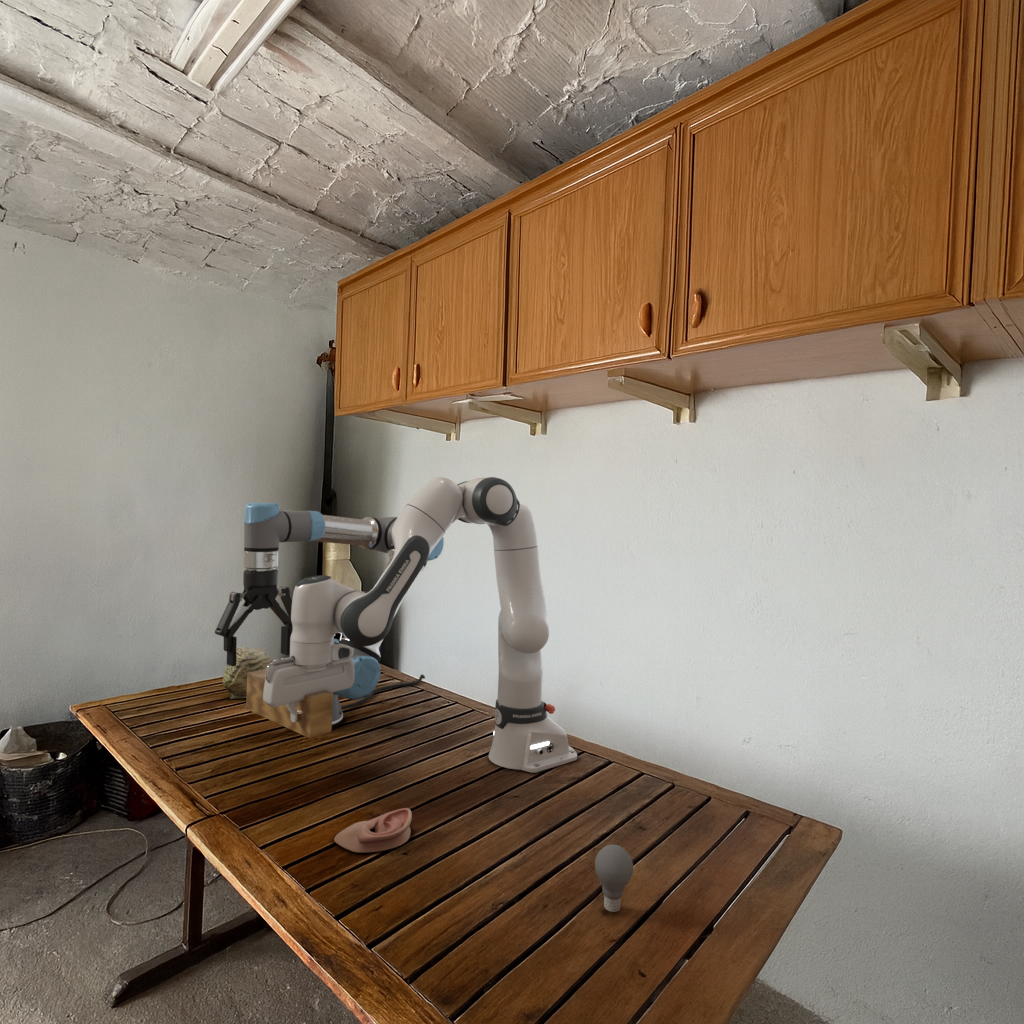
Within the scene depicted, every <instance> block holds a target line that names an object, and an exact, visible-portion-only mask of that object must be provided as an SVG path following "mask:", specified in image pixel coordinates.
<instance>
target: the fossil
mask: <svg viewBox="0 0 1024 1024" xmlns="http://www.w3.org/2000/svg"><path fill="white" fill-rule="evenodd" d="M273 660H274V659H272V658H271V657H270V656H269V655H268V654H267V653H266V652H265V650H264V649H263V648H260V647H258V648H251V647H247V646H246V647H245V646H238V647H236V666H230V665H227V664H226V666H225V668H224V671H223V675H222V676H223V677H222V685H223V687H224V688H225V690H226V691H228V693H229V698H230V699H247V673H249V672H254V671H259V670H264V669H266V667H267V666H268V665H269V664H270V663H272V661H273ZM272 665H273V664H272Z"/></svg>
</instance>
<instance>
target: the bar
mask: <svg viewBox="0 0 1024 1024" xmlns="http://www.w3.org/2000/svg"><path fill="white" fill-rule="evenodd" d="M265 675H266V669H264V670H259V671H254V672H249V673H247V698H246V703H245V709H246V710H248V711H249V712H251V713H254V714H256V715H258V716H260V717H263V718H265V719H266V720H269V721H271V722H274V723H275V724H278V725H280V726H282V727H284V728H286V729H288V730H291V731H293V732H295V733H297V734H299V735H301V736H304V737H306V738H308V739H313V738H316V737H319V736H322V735H327V734H329V733H332V729H331V727H332V699H333V692H330V691H327V690H324V691H320V692H316V693H311V694H307V695H305V697H304V700H301V701H297V706H296V707H295V709H296V710H297V711H298V712H300V713H301V721H298V722H295V723H294V722H291V720H290V716H291V713H290V712H289V710H288V708H287V707H286V704H285V705H281V706H277V707H272V706H269V705H267V704H266V703H265V702H264V701H263V691H264V684H265V679H266V677H265Z"/></svg>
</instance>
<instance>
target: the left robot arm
mask: <svg viewBox="0 0 1024 1024" xmlns="http://www.w3.org/2000/svg"><path fill="white" fill-rule="evenodd" d="M244 508H245V509H244V515H243V516H244V518H243V525H244V526H243V532H244V533H243V537H244V538H243V568H244V570H243V572H242V573H243V576H242V579H243V581H242V584H243V591H242V592H236V591H230V593H229V598H228V603H227V605H226V607H225V608H224V611H223V613H222V615H221V617H220V620H219V622H218V623H217V626H216V628H215V630H214V634H216V635H217V636H221V637H223V651H224V652H226V665H230V666H236V649H237V643H238V642H237V639H238V638H237V636H234V635H235V634H236V633H237V631H238V630H239V629H240V627H241V626H242V624H243V623H244V622H245V620H247V618H248V617H249V615H250V614H251V613H253V611H254V610H255V611H258V610H259V611H260V610H262V609H265V610H266V609H269V608H270V610H271V611H272V612H273V613H274V614H275V616H276V617H277V618H278V619H279V620H280V621H281V622H282V624H283V625H284V626H283V625H282V626H280V654H282V655H285V656H290V637H291V634H292V630H293V626H292V621H291V608H292V597H291V591H290V587H288V586H283V585H281V586H279V587H278V584H279V570H278V569H277V568H278V567H279V546H280V543H297V542H300V543H301V542H307V543H310V542H316V543H328V544H331V543H332V544H341V545H351V546H352V545H353V546H359V548H361V549H363V550H370V551H376V552H381V553H384V554H387V556H388V562H387V563H386V565H385V567H384V569H383V570H382V573H381V575H380V577H381V576H382V574H383V573H384V571H385V570H386V568H387V567H388V565H389V564H390V562H391V561H392V559H393V556H394V552H395V546H394V542H393V539H392V527H393V525H394V523H395V521H396V519H397V517H398V516H387V517H386V516H385V517H384V516H383V517H372V516H366V517H363V518H362V519H361V518H353V517H344V516H336V515H327V514H322V513H321V512H320V511H317V510H294V509H280V508H281V507H280V505H279V504H278V503H277V502H257V501H256V502H248V503H247V504H246V505H245V507H244ZM444 543H445V538H444V536H443V537H442V538H441V539H440V541H439V542H438V543H437V545H436V546H435V548H434V549H433V550H432V552H431V553H430V555H429V557H428V558H427V560H426V562H425V564H424V566H423V567H422V569H421V571H420V572H422V571H424V570H425V568H426V566H427V564H428V562H429V561H434V560H435V559H438V558H439V557H440V555H442V552H443V550H444ZM407 592H408V591H407ZM407 592H406V594H405V595H404V597H403V599H402V600H401V602H400V603H399V605H398V607H397V609H396V612H395V615H394V618H393V620H394V619H395V617H396V615H397V613H398V611H399V609H400V607H401V605H402V603H403V600H404V599H405V597H406V595H407ZM278 596H279V597H280V600H281V603H282V604H283V607H284V609H285V610H284V609H283V608H282V607H281V605H280V603H279V602H278V600H276V599H277V597H278ZM242 601H243V602H242ZM241 602H242V604H241V606H240V603H241ZM239 606H240V607H239ZM238 608H239V610H238ZM237 610H238V611H237ZM236 612H237V613H236ZM384 639H385V637H384V638H383V639H382V640H381V641H380V642H378V643H376V644H374V645H371V646H359V645H356V644H354V643H352V642H351V641H350V640H349V639H348V638H347V637H346V636H344V637H342V638H341V639H340V641H339V639H337V638H334V642H336V643H339V644H343V645H346V646H349V647H351V648H353V656H352V657H350V658H352V659H353V661H354V683H353V685H352V687H351V688H348V689H344V690H340V691H336V692H333V699H332V727H331V730H332V729H335V728H337V727H339V726H340V725H342V723H343V722H344V713H343V710H345V709H349V708H353V707H356V706H358V705H360V704H364V703H365V702H366V701H368V700H369V699H371V698H372V697H373V696H374V695H375V694H376V693H378V692H381V691H384V690H389V689H395V688H400V687H401V688H402V687H409V686H415V685H419V684H420V683H421V682H422V680H424V679H426V676H425V675H424V674H423V673H422V674H420V676H419V678H418V679H417V680H415V681H410V682H402V683H396V684H390V685H385V686H381V687H378V688H376V687H377V686H378V684H379V682H380V679H381V673H382V672H381V665H380V663H379V661H380V660H381V658H382V656H381V652H380V647H381V644H382V643H383V641H384ZM339 698H341V699H347V700H352V701H355V702H352V703H348V704H344V705H341V702H340V699H339Z"/></svg>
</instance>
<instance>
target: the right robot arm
mask: <svg viewBox="0 0 1024 1024" xmlns="http://www.w3.org/2000/svg"><path fill="white" fill-rule="evenodd" d="M532 513H533V512H532V511H531V509H530V508H529V507H528V506H527V505H525V504H523V503H520V501H519V500H518V497H517V494H516V491H515V490H514V488H513V486H512V485H511V484H510V483H509V482H508V481H506V480H505V479H502V478H500V477H497V476H496V477H495V476H489V477H476V478H474V479H471V480H466V481H461V482H459V483H456V482H454V481H453V480H451V479H449V478H446V477H443V476H442V477H441V476H438V477H434V478H433V479H432V478H431V480H430V481H428V482H427V483H426V484H425V485H423V487H421V488H420V489H419V490H418V491H417V492H416V494H414V496H413V497H412V498H411V499H410V500H409V501H408V502H407V504H406V505H405V506H404V507H403V509H402V510H401V511H400V513H399V514H398V516H396V517H397V519H396V521H395V523H394V525H393V527H392V539H393V542H394V546H395V552H394V556H393V559H392V561H391V562H390V564H389V565H388V567H387V568H386V570H385V571H384V570H383V571H384V573H383V572H382V573H383V574H382V573H381V575H382V576H381V575H380V577H379V579H378V580H377V581H376V583H375V584H374V586H373V588H372V589H370V590H369V591H368V592H365V591H362V590H360V589H356V588H353V587H350V586H347V585H345V584H343V583H341V582H339V581H337V580H335V578H333V577H332V576H330V575H327V574H325V575H324V574H322V575H312V576H308V577H305V578H303V579H301V580H299V581H298V582H297V583H296V584H295V586H294V589H293V593H292V597H291V599H292V608H291V621H292V626H293V630H292V634H291V637H290V655H289V656H287V657H282V658H276V659H272V660H273V661H272V663H270V664H269V665H268V666H267V667H266V675H265V677H266V679H265V684H264V691H263V701H264V702H265V703H266V704H267V705H269V706H272V707H277V706H281V705H285V704H286V707H287V708H288V710H289V712H290V713H291V716H290V720H291V722H294V723H295V722H298V721H301V713H300V712H298V711H297V710H296V709H295V707H296V706H297V701H301V700H304V697H305V695H307V694H311V693H316V692H320V691H324V690H327V691H330V692H336V691H340V690H344V689H348V688H351V687H352V685H353V683H354V661H353V659H352V658H350V657H352V656H353V648H351V647H349V646H346V645H343V644H339V643H340V642H339V643H336V642H334V639H335V635H336V634H341V633H342V634H344V637H347V638H348V639H349V640H350V641H351V642H352V643H354V644H356V645H359V646H371V645H374V644H376V643H378V642H380V641H381V640H382V639H383V638H384V639H385V638H386V636H388V634H389V633H390V630H391V628H392V626H393V622H394V619H395V617H394V615H395V612H396V609H397V607H398V605H399V603H400V602H401V600H402V599H403V597H404V595H405V594H406V595H407V593H406V592H408V591H409V589H410V587H411V586H412V584H413V583H414V582H415V580H416V579H417V578H418V575H419V574H420V573H421V572H422V571H421V569H422V567H423V566H424V564H425V562H426V560H427V558H428V557H429V555H430V553H431V552H432V550H433V549H434V548H435V546H436V545H437V543H438V542H439V541H440V539H441V538H442V537H443V538H444V536H445V534H446V533H447V531H448V530H449V529H450V527H451V525H452V524H454V522H456V521H460V522H463V523H466V524H475V525H487V526H488V528H489V529H490V532H491V534H492V538H493V539H492V540H493V542H492V543H493V556H494V566H495V567H494V568H495V578H496V585H497V591H498V598H499V605H500V611H499V614H498V619H497V620H498V621H497V654H498V655H497V656H498V658H497V659H498V675H497V676H498V677H497V698H496V700H495V705H494V725H495V726H494V731H493V732H492V733H493V738H492V741H491V742H492V743H491V746H490V749H489V751H488V755H487V756H488V757H487V758H488V760H489V761H490V762H491V763H493V764H494V765H497V766H499V767H502V768H504V769H505V768H506V769H511V770H518V771H524V772H527V773H532V774H533V773H534V774H535V773H539V772H542V771H543V772H544V771H545V770H549V769H552V768H556V767H559V766H563V765H565V764H568V763H573V762H575V761H577V760H578V753H577V750H575V749H574V748H573V747H572V746H570V745H569V739H568V735H567V732H566V730H565V729H563V727H562V726H560V725H559V724H558V723H557V722H556V721H555V720H553V719H552V718H551V717H550V716H548V714H550V715H552V714H554V713H555V712H556V707H555V705H552V704H551V703H546V702H545V701H544V700H542V699H543V698H542V697H543V675H544V674H543V673H544V670H543V669H544V668H543V660H542V649H543V648H544V647H545V646H546V644H547V643H548V640H549V637H550V625H549V618H548V611H547V605H546V598H545V593H544V588H543V587H544V586H543V582H542V581H543V580H542V574H541V565H540V564H541V563H540V552H539V551H540V550H539V542H538V535H537V528H536V525H535V520H534V516H533V514H532ZM406 595H405V596H406ZM404 598H405V597H404ZM403 600H404V599H403ZM395 616H396V615H395ZM393 618H394V619H393ZM384 639H383V640H384ZM272 664H273V665H272Z"/></svg>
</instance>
